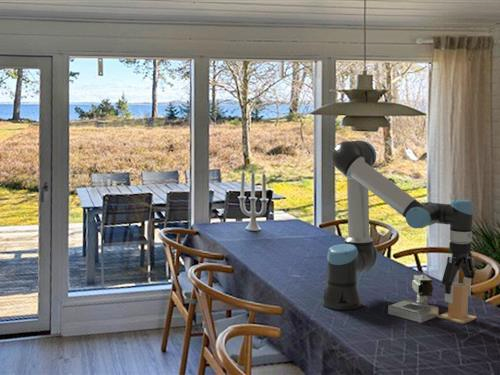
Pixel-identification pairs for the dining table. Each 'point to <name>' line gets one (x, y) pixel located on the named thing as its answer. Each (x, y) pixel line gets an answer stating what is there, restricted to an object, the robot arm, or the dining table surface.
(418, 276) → the pneumatic valve
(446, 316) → the pad
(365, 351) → the dining table surface
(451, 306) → the light wood tall block
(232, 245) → the dining table surface
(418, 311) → the grey flat block
